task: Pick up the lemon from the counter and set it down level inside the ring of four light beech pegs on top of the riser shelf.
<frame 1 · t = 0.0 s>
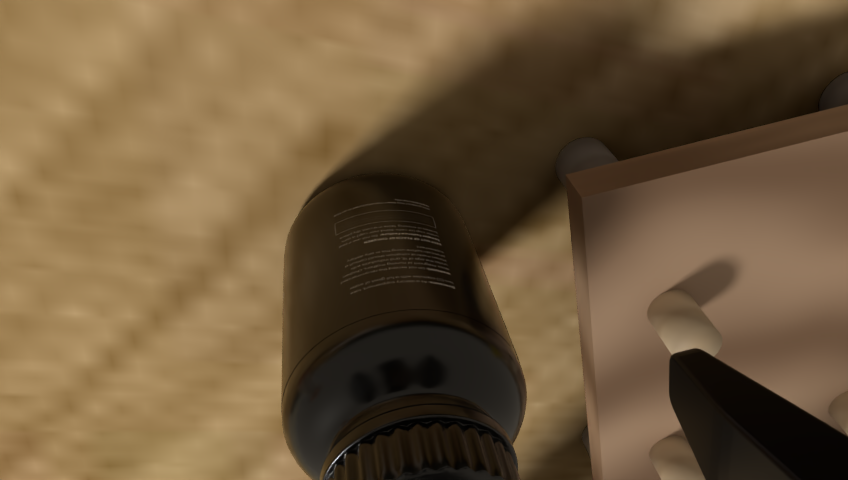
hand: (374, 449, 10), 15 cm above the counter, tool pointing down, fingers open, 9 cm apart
peg shelf: (706, 288, 29), on the counter
supplement bottle: (377, 245, 26), on the counter
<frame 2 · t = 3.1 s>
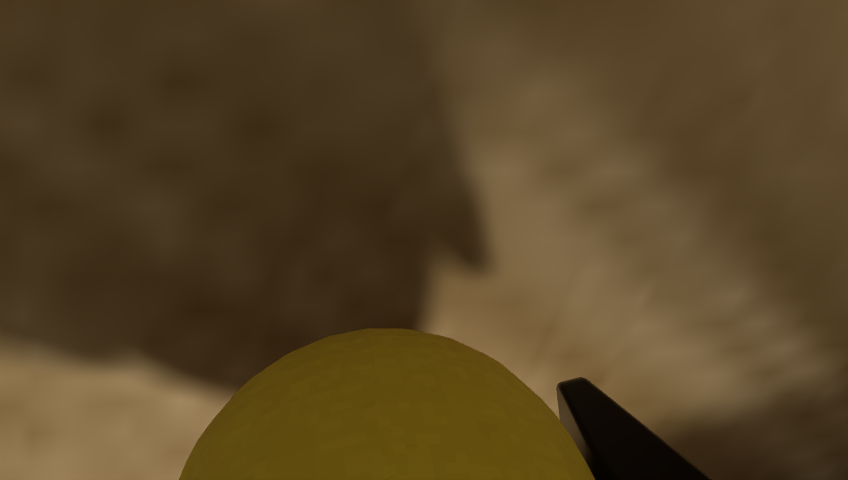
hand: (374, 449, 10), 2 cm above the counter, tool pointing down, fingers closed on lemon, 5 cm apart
lemon: (364, 354, 12), on the counter, touching gripper
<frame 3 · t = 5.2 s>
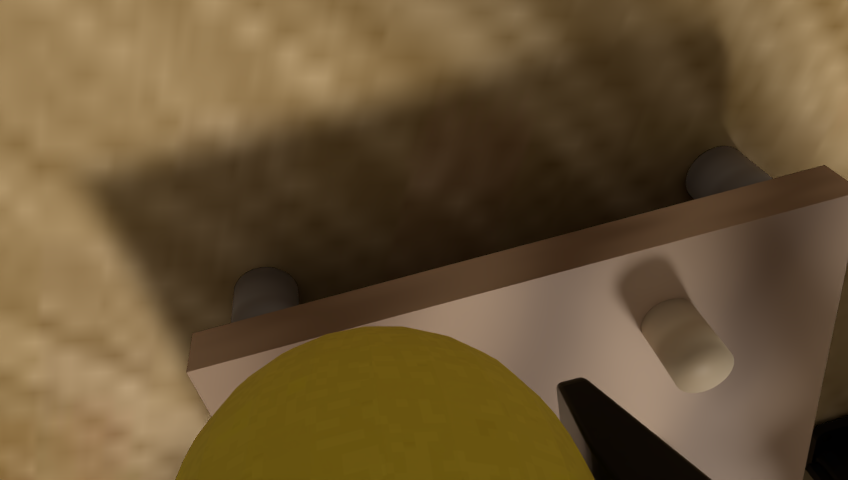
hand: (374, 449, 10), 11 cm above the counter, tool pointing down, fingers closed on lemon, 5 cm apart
lemon: (362, 352, 12), point 9 cm above the counter, touching gripper
peg shelf: (511, 343, 25), on the counter
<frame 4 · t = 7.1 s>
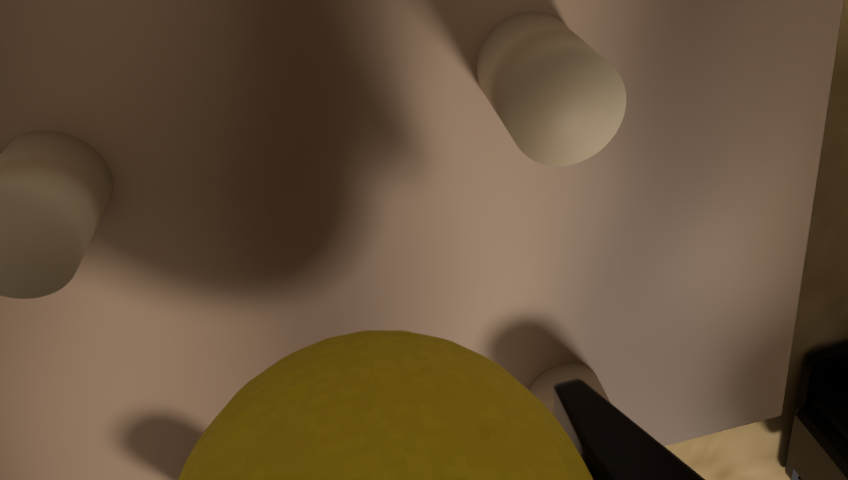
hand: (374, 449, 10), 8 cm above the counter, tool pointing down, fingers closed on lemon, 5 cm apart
lemon: (363, 355, 12), point 6 cm above the counter, touching gripper
peg shelf: (340, 188, 17), on the counter
when the fingers open (8 cm above the counter, at t = 7.4 s): lemon drops 2 cm, resting on peg shelf.
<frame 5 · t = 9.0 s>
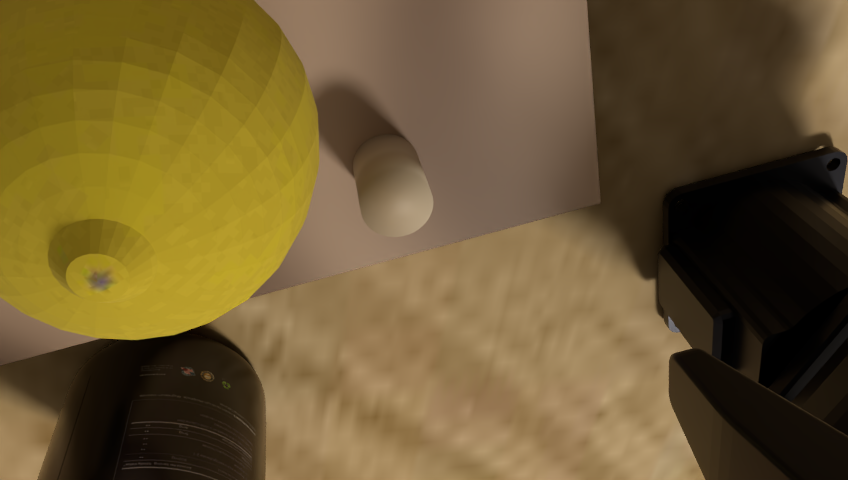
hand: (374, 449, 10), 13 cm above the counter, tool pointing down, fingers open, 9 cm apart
lemon: (175, 56, 15), point 4 cm above the counter, touching peg shelf
peg shelf: (194, 2, 18), on the counter
supplement bottle: (174, 390, 26), on the counter
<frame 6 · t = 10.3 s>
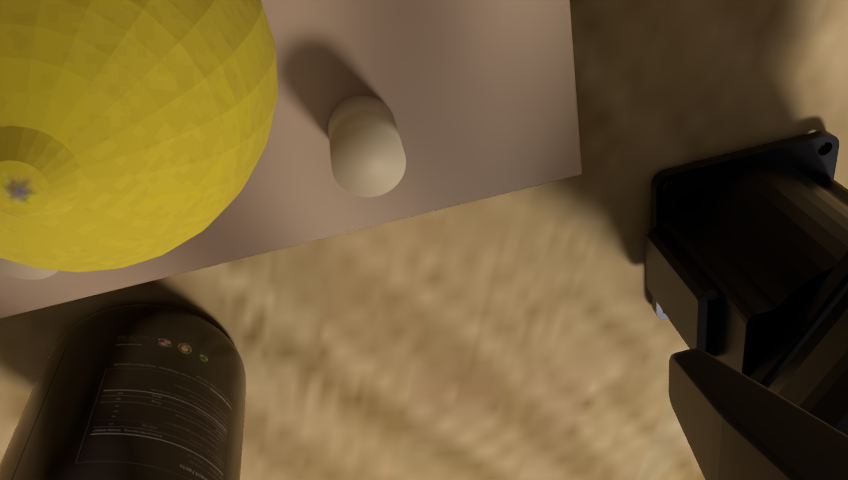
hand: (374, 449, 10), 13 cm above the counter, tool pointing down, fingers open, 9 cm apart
lemon: (146, 7, 14), point 4 cm above the counter, touching peg shelf
supplement bottle: (154, 366, 25), on the counter
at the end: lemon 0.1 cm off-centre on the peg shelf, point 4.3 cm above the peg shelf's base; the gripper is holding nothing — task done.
